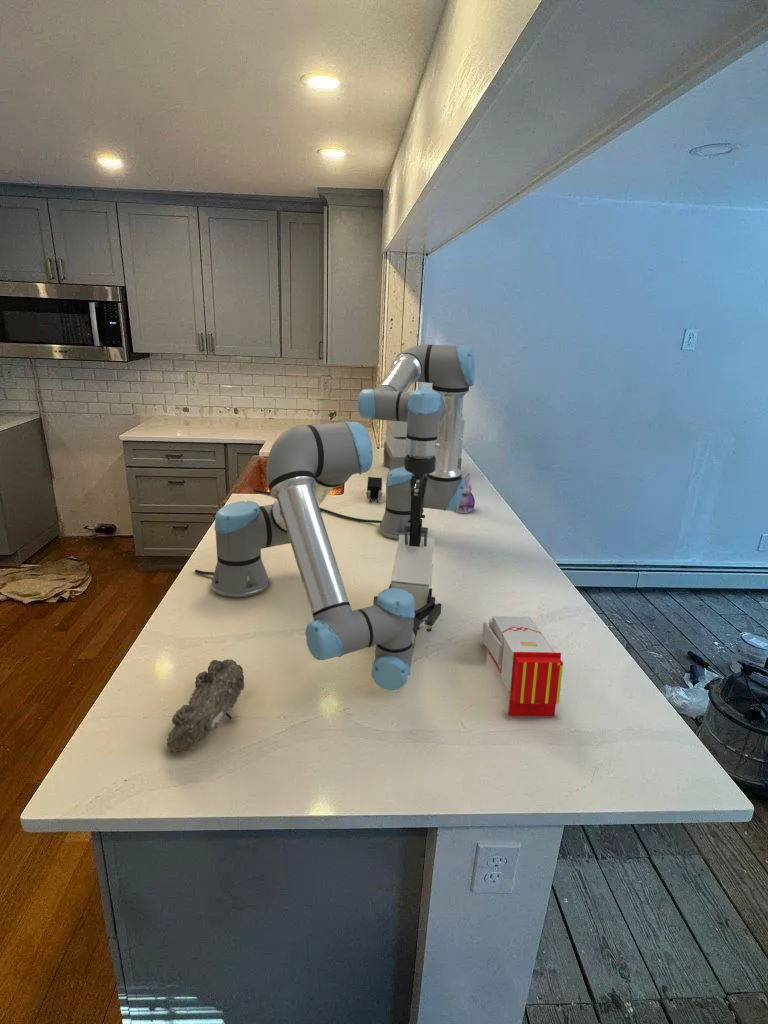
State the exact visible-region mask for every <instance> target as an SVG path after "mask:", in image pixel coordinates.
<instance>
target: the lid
mask: <svg viewBox="0 0 768 1024" xmlns="http://www.w3.org/2000/svg"><path fill="white" fill-rule="evenodd" d="M428 531H429V528H428V527H425V526H422V527H421V534H422V535H423V536H421V543H420V547H415V546H409V537H410V536H408V532H410V526H404V532H405V535H399V540H397V546H396V552H395V558H394V563H393V569H392V575H391V580H390V583H401V584H410V585H419V586H428V587H429V582H430V574H431V566H432V564H433V558H434V551H435V550H434V549H435V544H436V543H435V542H436V538H435V537H429V536H428V533H429V532H428Z"/></svg>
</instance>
